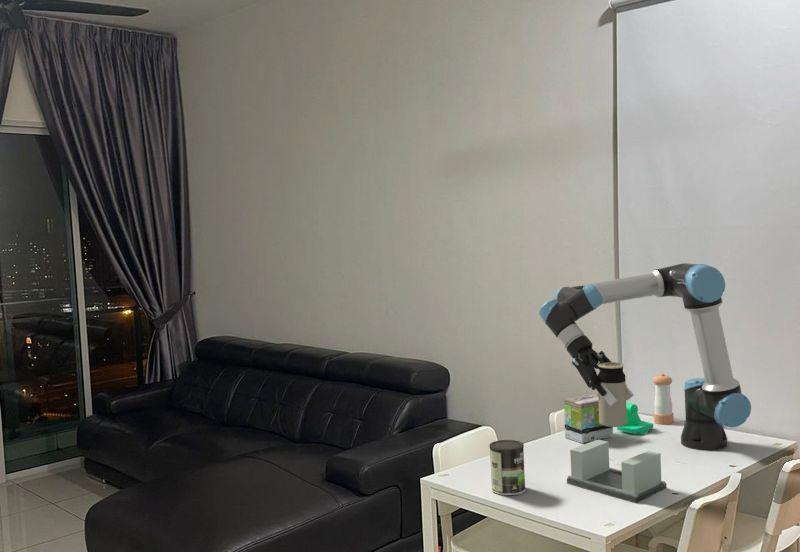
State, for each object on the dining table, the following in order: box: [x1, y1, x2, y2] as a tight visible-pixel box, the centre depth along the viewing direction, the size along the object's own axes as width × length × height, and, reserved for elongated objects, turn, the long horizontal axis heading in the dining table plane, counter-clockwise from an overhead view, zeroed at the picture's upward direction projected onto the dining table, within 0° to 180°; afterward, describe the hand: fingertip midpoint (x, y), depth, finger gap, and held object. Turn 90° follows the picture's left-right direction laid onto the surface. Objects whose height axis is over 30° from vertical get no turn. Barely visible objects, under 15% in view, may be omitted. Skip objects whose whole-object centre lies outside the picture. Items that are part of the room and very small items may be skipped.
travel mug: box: [597, 361, 627, 428], centre depth 220 cm, size 8×8×18 cm
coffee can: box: [488, 439, 526, 496], centre depth 223 cm, size 10×10×14 cm
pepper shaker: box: [652, 372, 675, 425], centre depth 286 cm, size 7×7×19 cm
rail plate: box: [566, 466, 667, 504], centre depth 222 cm, size 24×16×2 cm, turn 40°
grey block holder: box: [569, 439, 662, 494], centre depth 221 cm, size 22×14×9 cm, turn 40°
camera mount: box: [616, 402, 654, 435], centre depth 277 cm, size 12×8×10 cm, turn 124°
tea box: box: [563, 393, 614, 444], centre depth 272 cm, size 15×10×15 cm, turn 117°
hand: (622, 400), depth 218 cm, fingers closed on travel mug, 8 cm apart
